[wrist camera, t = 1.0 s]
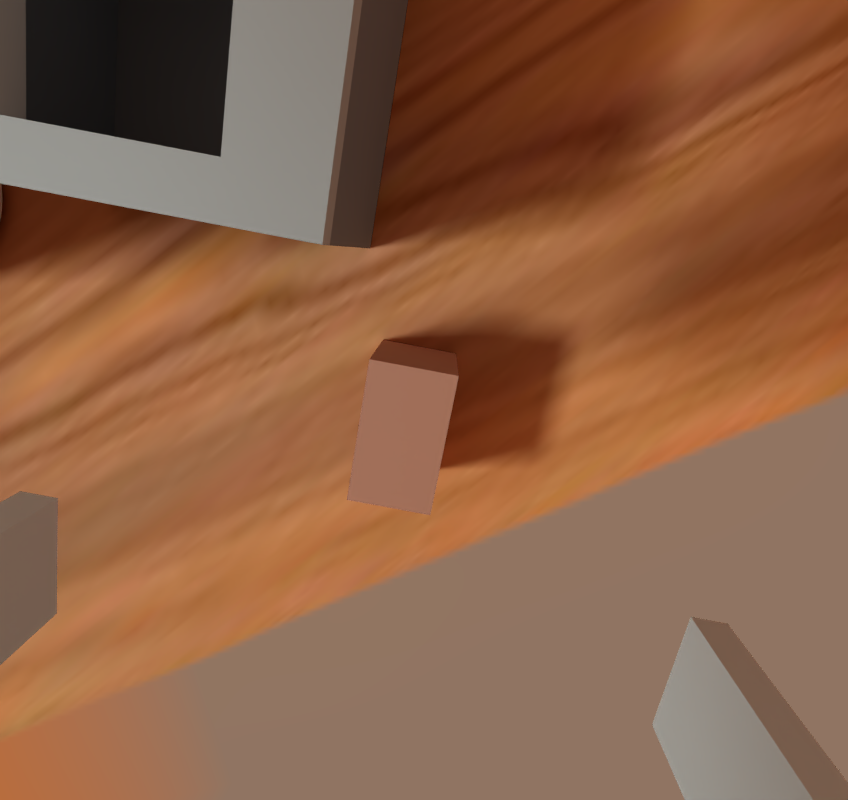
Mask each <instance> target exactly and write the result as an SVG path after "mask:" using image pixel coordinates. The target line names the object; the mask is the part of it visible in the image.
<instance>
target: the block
mask: <svg viewBox="0 0 848 800" xmlns="http://www.w3.org/2000/svg"><path fill="white" fill-rule="evenodd" d="M458 377H459V374H458V365H457V357H456V353H451V352H445V351H440V350H435V349H430V348H424V347H419V346H414V345H408V344H403V343H398V342H392V341H387V340H383V341H382V342H381V344H380V345H379V346H378V348H377V349H376V351H375V352H374V354H373V355H372V356H371V358H370V359H369V366H368V372H367V378H366V384H365V390H364V397H363V403H362V409H361V415H360V422H359V428H358V434H357V440H356V447H355V453H354V459H353V465H352V471H351V478H350V484H349V490H348V496H347V500H351V501H356V502H362V503H367V504H373V505H378V506H383V507H389V508H394V509H400V510H405V511H411V512H416V513H421V514H427V515H430V514H431V509H432V504H433V499H434V494H435V489H436V484H437V480H438V475H439V470H440V465H441V460H442V455H443V450H444V446H445V441H446V436H447V431H448V426H449V421H450V416H451V411H452V407H453V402H454V397H455V392H456V387H457V382H458Z"/></svg>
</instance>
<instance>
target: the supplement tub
mask: <svg viewBox="0 0 848 800" xmlns="http://www.w3.org/2000/svg"><path fill="white" fill-rule="evenodd" d="M1 212H2V184H1V183H0V220H1Z"/></svg>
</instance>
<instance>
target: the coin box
mask: <svg viewBox="0 0 848 800" xmlns="http://www.w3.org/2000/svg"><path fill="white" fill-rule="evenodd" d="M407 4H408V0H0V183H1V184H6V185H11V186H17V187H22V188H27V189H32V190H38V191H43V192H48V193H53V194H59V195H64V196H69V197H74V198H80V199H85V200H90V201H95V202H101V203H106V204H111V205H116V206H122V207H127V208H132V209H137V210H143V211H148V212H153V213H158V214H164V215H169V216H174V217H179V218H185V219H190V220H195V221H200V222H206V223H211V224H216V225H221V226H227V227H232V228H237V229H242V230H248V231H253V232H258V233H263V234H269V235H274V236H279V237H284V238H290V239H295V240H300V241H305V242H311V243H316V244H321V245H333V246H347V247H360V248H370V246H371V240H372V233H373V227H374V220H375V213H376V207H377V200H378V194H379V187H380V181H381V174H382V168H383V161H384V154H385V148H386V141H387V135H388V128H389V122H390V115H391V109H392V102H393V95H394V89H395V82H396V76H397V69H398V63H399V56H400V50H401V43H402V37H403V30H404V23H405V17H406V10H407Z"/></svg>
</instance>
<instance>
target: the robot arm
mask: <svg viewBox="0 0 848 800" xmlns="http://www.w3.org/2000/svg"><path fill="white" fill-rule="evenodd" d="M57 516H58V498H54V497H48V496H43V495H38V494H32V493H27V492H22V491H20V492H18V493H17V494H15V495H13V496H11V497H9V498H8V499H6V500H4V501H2V502H0V665H1V664H2V663H3V662H4V661H5V660H6V659H7V658H8V657H9V656H11V655H12V654H13V653H14V652H15V651H16V650H17V649H18V648H19V647H20V646H22V645H23V644H24V643H25V642H26V641H27V640H28V639H29V638H30V637H31V636H32V635H34V634H35V633H36V632H37V631H38V630H39V629H40V628H41V627H42V626H43V625H45V624H46V623H47V622H48V621H49V620H50V619H51V618H52V617H53V616H54V615H55V614H57ZM652 725H653V727H654V730H655V732H656V734H657V737H658V739H659V741H660V743H661V746H662V748H663V751H664V753H665V755H666V757H667V760H668V762H669V764H670V766H671V769H672V771H673V774H674V776H675V778H676V781H677V783H678V785H679V787H680V790H681V792H682V794H683V797H684V799H685V800H848V782H847V781H846V780H845V778H844V777H843V776H842V774H841V773H840V772H839V770H838V769H837V768H836V766H835V765H834V764H833V762H832V761H831V760H830V758H829V757H828V756H827V755H826V753H825V752H824V751H823V749H822V748H821V747H820V745H819V744H818V743H817V742H816V740H815V739H814V737H813V736H812V735H811V734H810V732H809V731H808V730H807V728H806V727H805V725H804V724H803V723H802V721H801V720H800V719H799V717H798V716H797V715H796V713H795V712H794V711H793V709H792V708H791V707H790V705H789V704H788V703H787V702H786V700H785V699H784V698H783V697H782V695H781V694H780V692H779V691H778V690H777V688H776V687H775V686H774V684H773V683H772V682H771V680H770V679H769V678H768V676H767V675H766V674H765V672H764V671H763V670H762V668H761V667H760V666H759V664H758V663H757V662H756V661H755V659H754V658H753V657H752V655H751V654H750V653H749V652H748V650H747V649H746V647H745V646H744V645H743V643H742V642H741V641H740V639H739V638H738V637H737V635H736V634H735V633H734V631H733V630H732V629H731V628H730V626H729V625H728V624H726V623H721V622H715V621H711V620H705V619H700V618H695V617H691V618H690V621H689V624H688V626H687V629H686V632H685V635H684V638H683V641H682V643H681V646H680V649H679V651H678V654H677V657H676V660H675V663H674V666H673V668H672V671H671V674H670V676H669V679H668V682H667V685H666V688H665V690H664V693H663V696H662V699H661V702H660V704H659V707H658V710H657V713H656V715H655V718H654V721H653V724H652Z"/></svg>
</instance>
